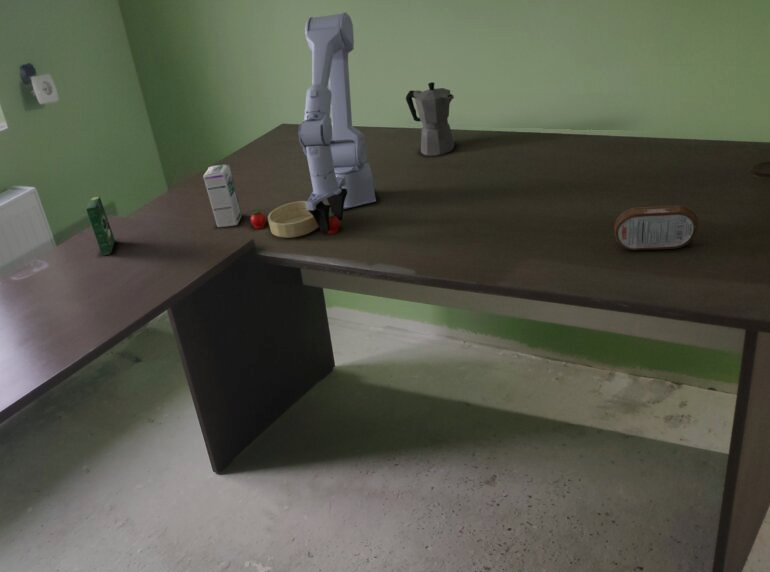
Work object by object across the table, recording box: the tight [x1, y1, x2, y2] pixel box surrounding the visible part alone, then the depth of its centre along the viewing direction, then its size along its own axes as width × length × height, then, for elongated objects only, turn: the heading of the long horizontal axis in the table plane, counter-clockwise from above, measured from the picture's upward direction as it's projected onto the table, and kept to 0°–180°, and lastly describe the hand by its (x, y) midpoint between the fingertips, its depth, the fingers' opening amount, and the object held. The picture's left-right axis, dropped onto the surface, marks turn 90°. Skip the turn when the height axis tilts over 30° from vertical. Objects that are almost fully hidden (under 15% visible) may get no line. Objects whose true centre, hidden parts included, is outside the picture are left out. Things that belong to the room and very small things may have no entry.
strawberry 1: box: [250, 209, 266, 230], centre depth 219 cm, size 4×4×4 cm
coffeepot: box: [405, 81, 455, 157], centre depth 232 cm, size 15×9×18 cm, turn 44°
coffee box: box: [85, 195, 116, 256], centre depth 226 cm, size 8×3×13 cm, turn 0°
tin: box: [613, 205, 699, 251], centre depth 169 cm, size 15×3×8 cm, turn 71°
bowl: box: [267, 200, 319, 239], centre depth 214 cm, size 13×13×4 cm
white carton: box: [202, 163, 243, 228], centre depth 223 cm, size 6×6×14 cm
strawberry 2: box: [327, 212, 340, 234], centre depth 208 cm, size 4×4×4 cm
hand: (331, 225), depth 209 cm, fingers open, 5 cm apart
